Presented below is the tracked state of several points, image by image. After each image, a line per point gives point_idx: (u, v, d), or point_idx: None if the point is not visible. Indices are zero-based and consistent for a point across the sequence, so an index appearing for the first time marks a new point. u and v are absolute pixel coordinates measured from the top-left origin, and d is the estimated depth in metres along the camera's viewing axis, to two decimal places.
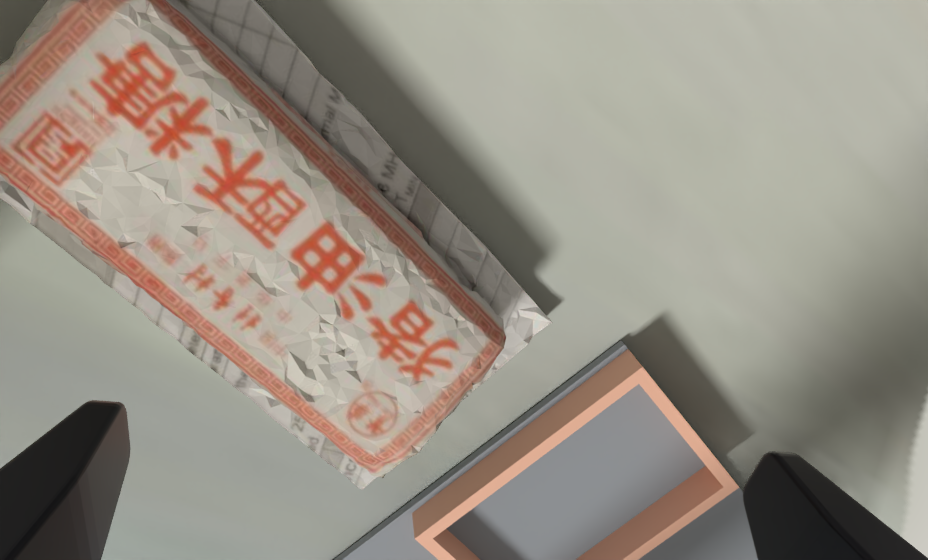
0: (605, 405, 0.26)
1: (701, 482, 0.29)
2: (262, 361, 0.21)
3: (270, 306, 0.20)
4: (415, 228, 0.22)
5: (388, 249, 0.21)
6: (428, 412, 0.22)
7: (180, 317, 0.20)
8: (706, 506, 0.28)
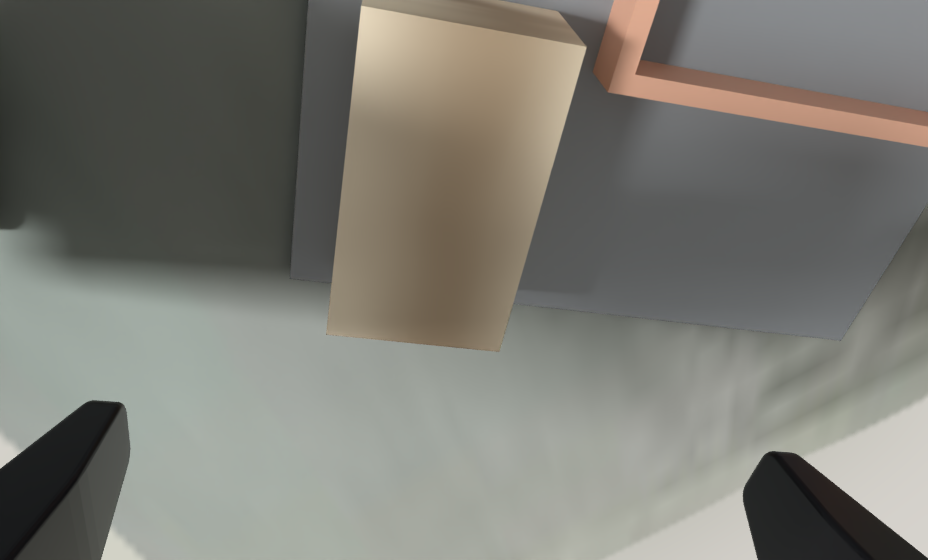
0: None
1: None
2: None
3: None
4: None
5: None
6: None
7: None
8: None
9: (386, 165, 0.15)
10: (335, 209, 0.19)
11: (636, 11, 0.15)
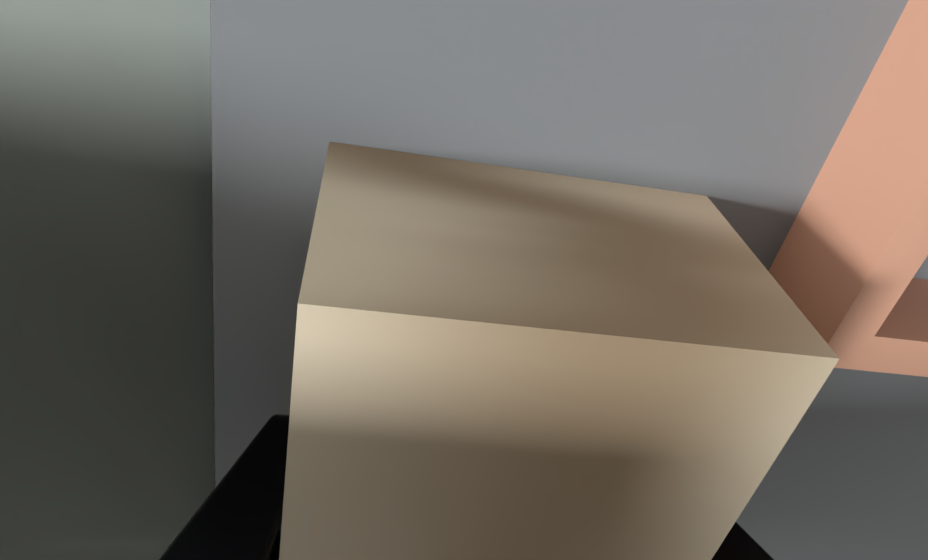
0: None
1: None
2: None
3: None
4: None
5: None
6: None
7: None
8: None
9: None
10: None
11: (902, 231, 0.07)
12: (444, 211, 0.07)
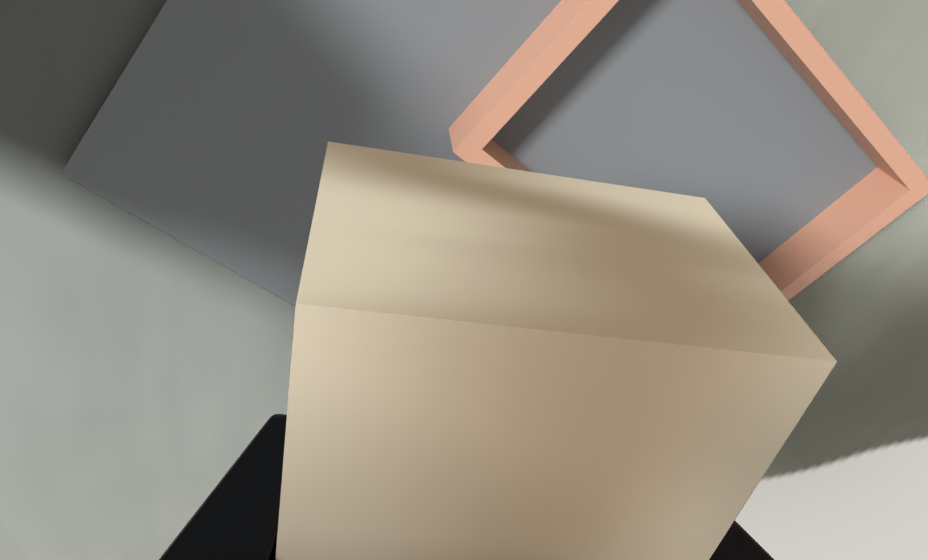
0: (887, 156, 0.18)
1: None
2: None
3: None
4: None
5: None
6: None
7: None
8: None
9: None
10: (146, 129, 0.17)
11: (505, 98, 0.16)
12: (442, 211, 0.07)
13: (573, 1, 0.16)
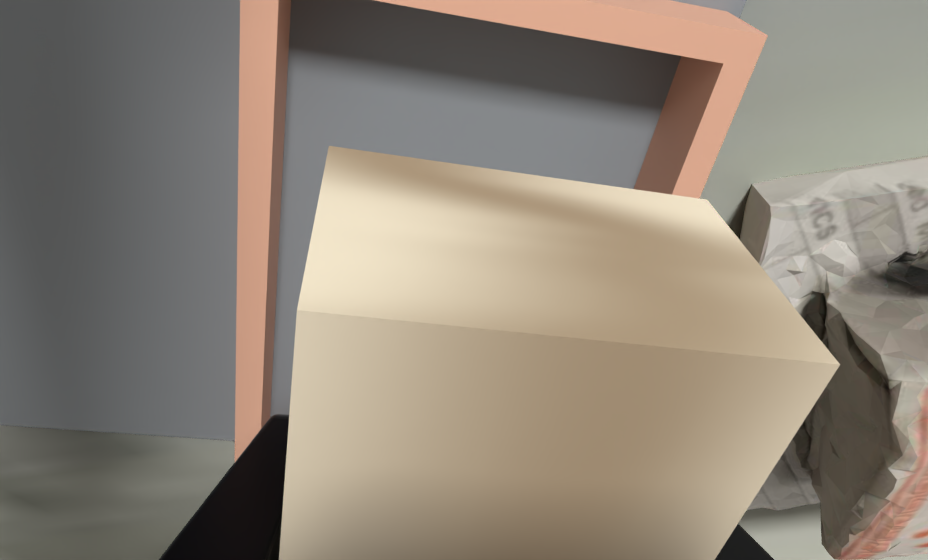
0: None
1: None
2: None
3: None
4: None
5: None
6: (916, 503, 0.13)
7: None
8: (244, 445, 0.14)
9: None
10: None
11: None
12: (444, 215, 0.07)
13: None
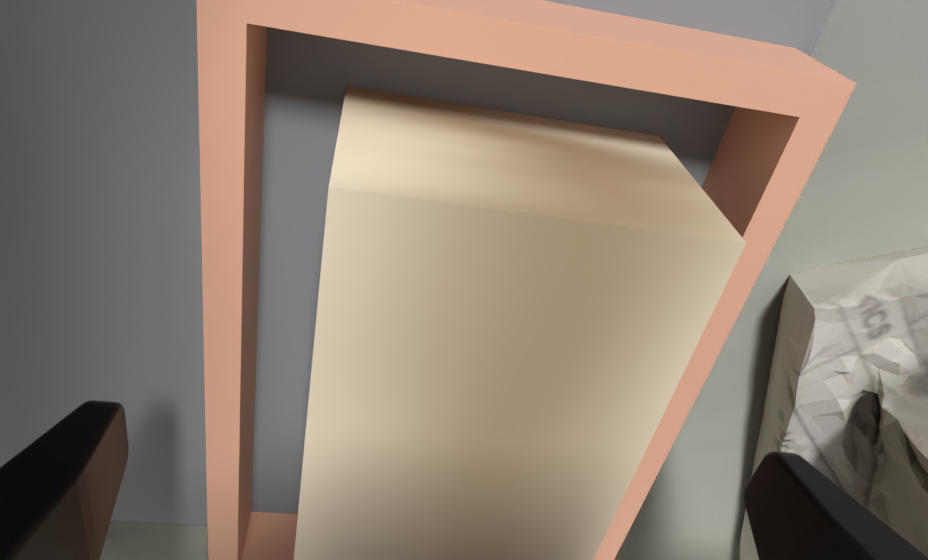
0: (600, 546, 0.13)
1: (246, 519, 0.13)
2: None
3: None
4: None
5: None
6: None
7: None
8: (219, 545, 0.12)
9: (379, 424, 0.09)
10: None
11: (377, 2, 0.07)
12: (440, 136, 0.08)
13: (590, 20, 0.08)
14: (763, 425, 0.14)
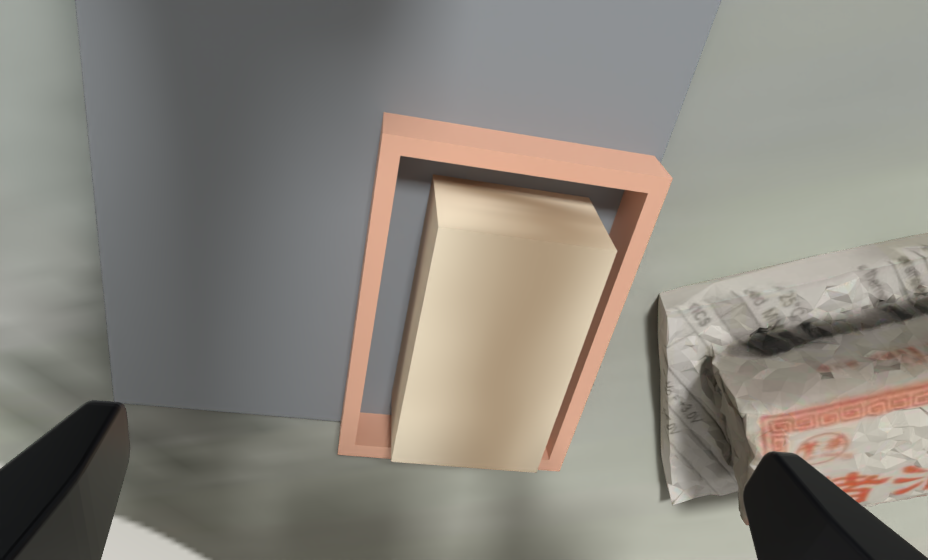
0: (563, 428, 0.22)
1: None
2: None
3: None
4: None
5: (905, 498, 0.23)
6: None
7: None
8: (348, 420, 0.21)
9: (450, 337, 0.18)
10: None
11: (456, 147, 0.17)
12: (480, 201, 0.18)
13: (550, 148, 0.18)
14: (661, 381, 0.24)
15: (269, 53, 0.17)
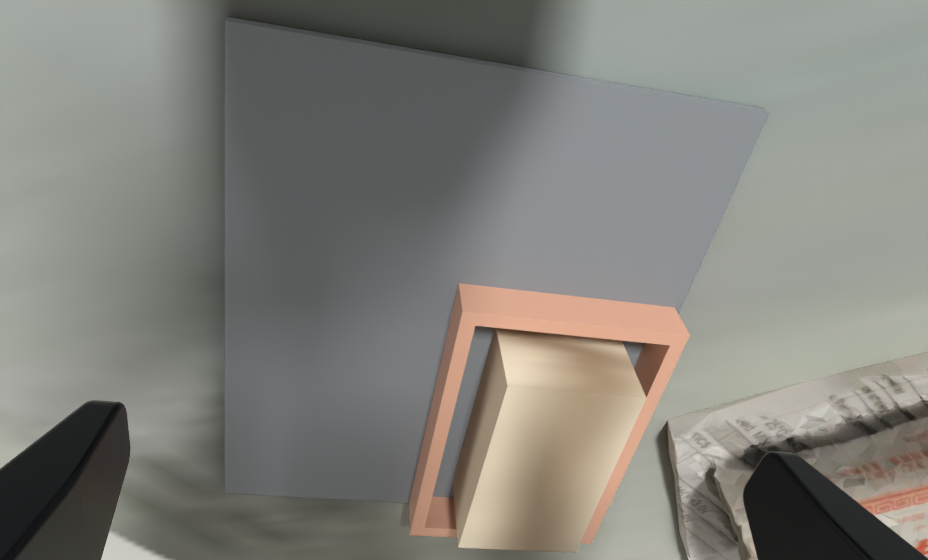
0: (596, 512, 0.27)
1: None
2: (909, 508, 0.25)
3: None
4: None
5: None
6: None
7: None
8: (420, 510, 0.26)
9: (512, 459, 0.23)
10: (321, 79, 0.18)
11: (519, 318, 0.21)
12: (535, 352, 0.22)
13: (592, 310, 0.22)
14: (674, 481, 0.29)
15: (371, 246, 0.21)
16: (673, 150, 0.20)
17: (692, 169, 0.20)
